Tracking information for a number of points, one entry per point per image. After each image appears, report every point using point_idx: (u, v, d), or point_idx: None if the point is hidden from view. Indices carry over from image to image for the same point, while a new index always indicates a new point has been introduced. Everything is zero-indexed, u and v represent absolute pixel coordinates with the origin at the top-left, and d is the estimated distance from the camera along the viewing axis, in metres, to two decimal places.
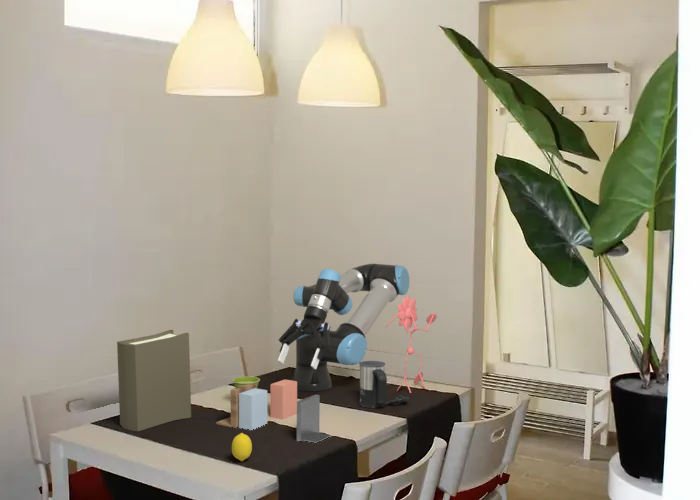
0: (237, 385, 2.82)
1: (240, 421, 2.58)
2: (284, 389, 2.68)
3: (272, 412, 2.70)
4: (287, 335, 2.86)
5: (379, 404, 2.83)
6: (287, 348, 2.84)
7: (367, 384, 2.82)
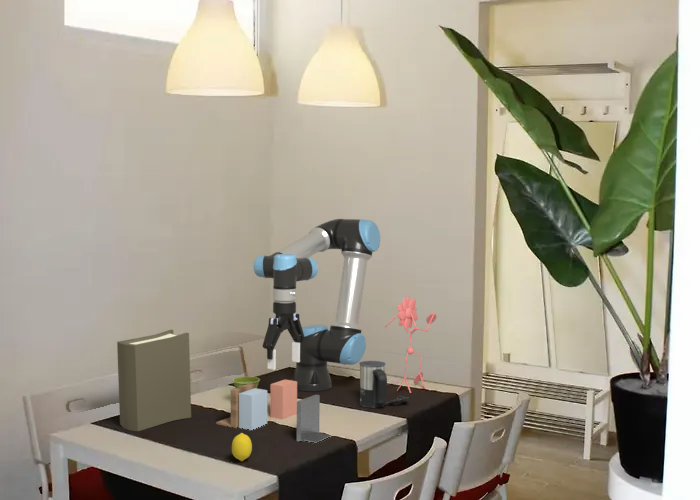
0: (237, 385, 2.82)
1: (240, 421, 2.58)
2: (284, 389, 2.68)
3: (272, 412, 2.70)
4: None
5: (379, 404, 2.83)
6: None
7: (367, 384, 2.82)
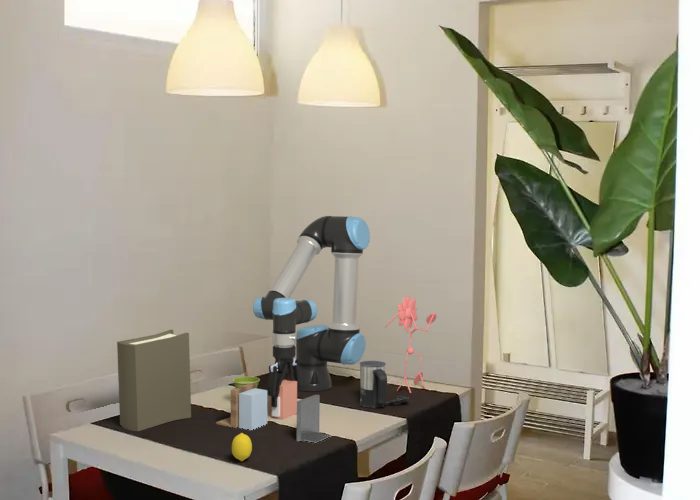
0: (237, 385, 2.82)
1: (240, 421, 2.58)
2: (284, 389, 2.68)
3: None
4: None
5: (379, 404, 2.83)
6: None
7: (368, 383, 2.82)
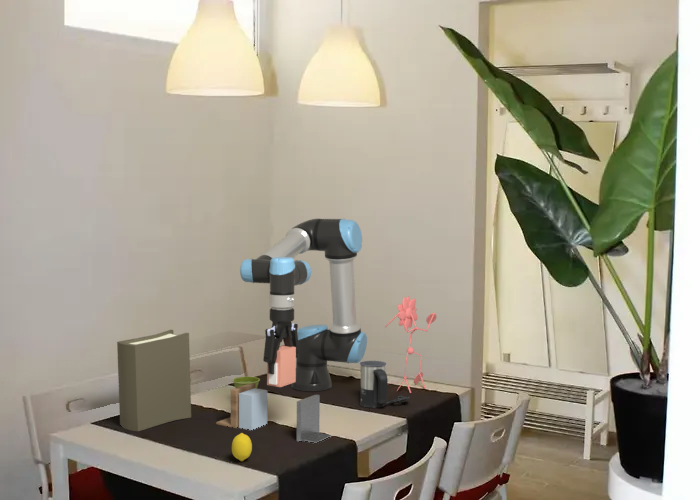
0: (237, 385, 2.82)
1: (240, 421, 2.58)
2: (282, 355, 2.49)
3: None
4: None
5: (379, 404, 2.83)
6: None
7: (368, 383, 2.82)
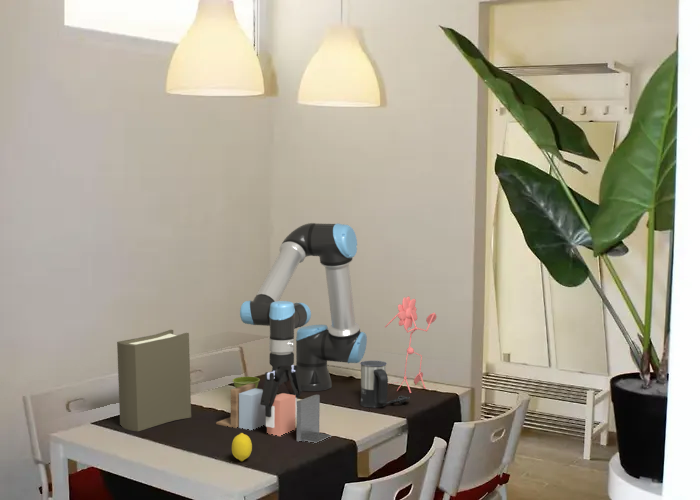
0: (237, 385, 2.82)
1: (240, 421, 2.58)
2: (282, 404, 2.50)
3: (269, 428, 2.52)
4: None
5: (380, 404, 2.83)
6: None
7: (368, 383, 2.82)
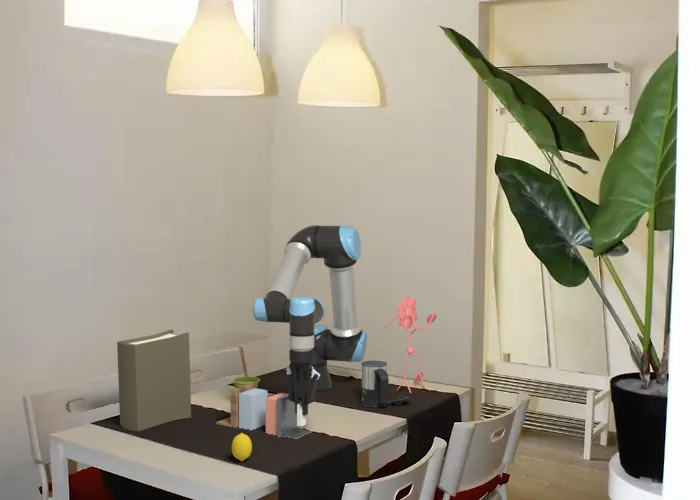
0: (237, 385, 2.82)
1: (240, 421, 2.58)
2: None
3: (267, 428, 2.52)
4: None
5: (380, 404, 2.83)
6: None
7: (369, 383, 2.83)
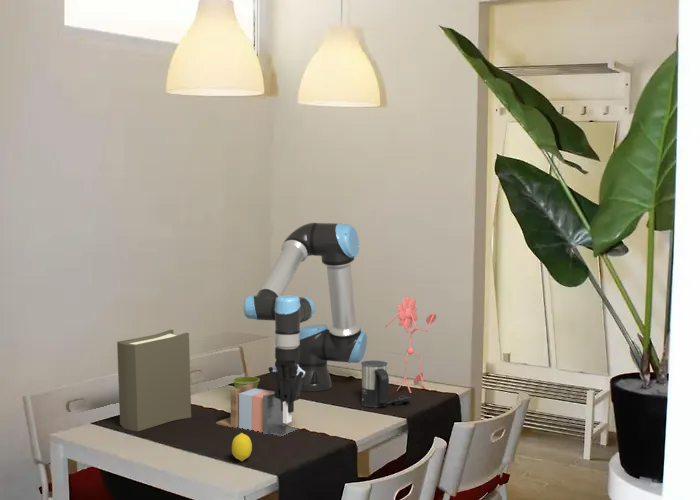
0: (237, 385, 2.82)
1: (240, 421, 2.58)
2: None
3: (254, 425, 2.55)
4: None
5: (381, 404, 2.83)
6: None
7: (369, 383, 2.83)
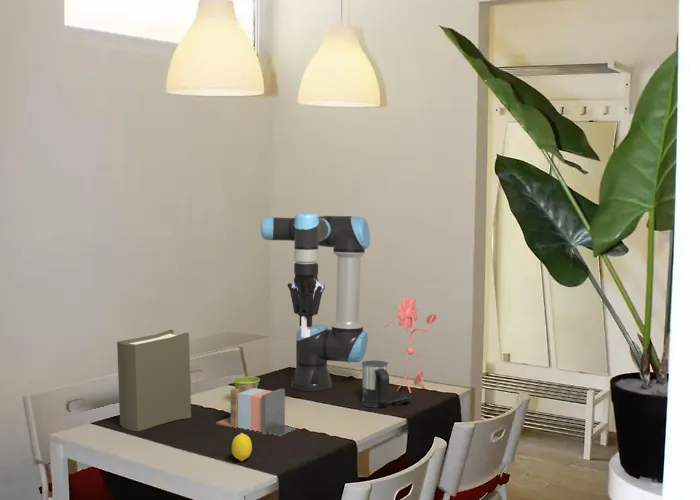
0: (237, 385, 2.82)
1: (239, 421, 2.58)
2: None
3: (252, 425, 2.55)
4: None
5: (381, 404, 2.83)
6: None
7: (370, 383, 2.83)
